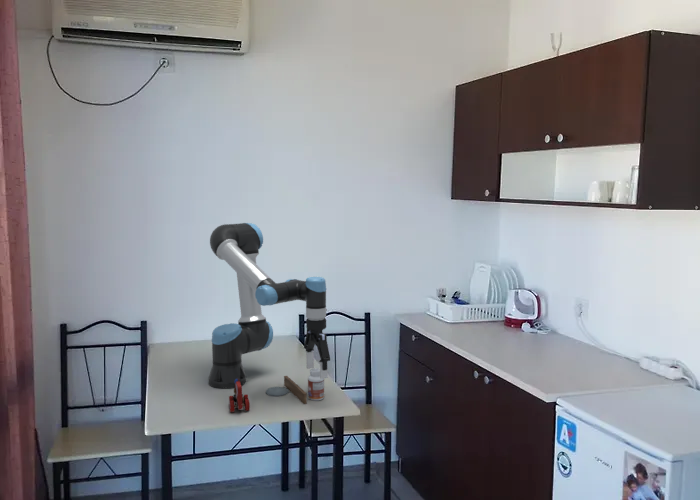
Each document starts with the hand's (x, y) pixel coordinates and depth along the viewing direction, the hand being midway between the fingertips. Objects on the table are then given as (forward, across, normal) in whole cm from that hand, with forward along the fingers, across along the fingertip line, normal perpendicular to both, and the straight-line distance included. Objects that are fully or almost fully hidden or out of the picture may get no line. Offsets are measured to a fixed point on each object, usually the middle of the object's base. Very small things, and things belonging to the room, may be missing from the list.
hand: (316, 373), depth 233 cm
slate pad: (+10, +12, +12) cm, 20 cm away
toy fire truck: (+10, +2, +30) cm, 31 cm away
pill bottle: (+10, 0, 0) cm, 10 cm away
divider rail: (+10, +8, +6) cm, 14 cm away
